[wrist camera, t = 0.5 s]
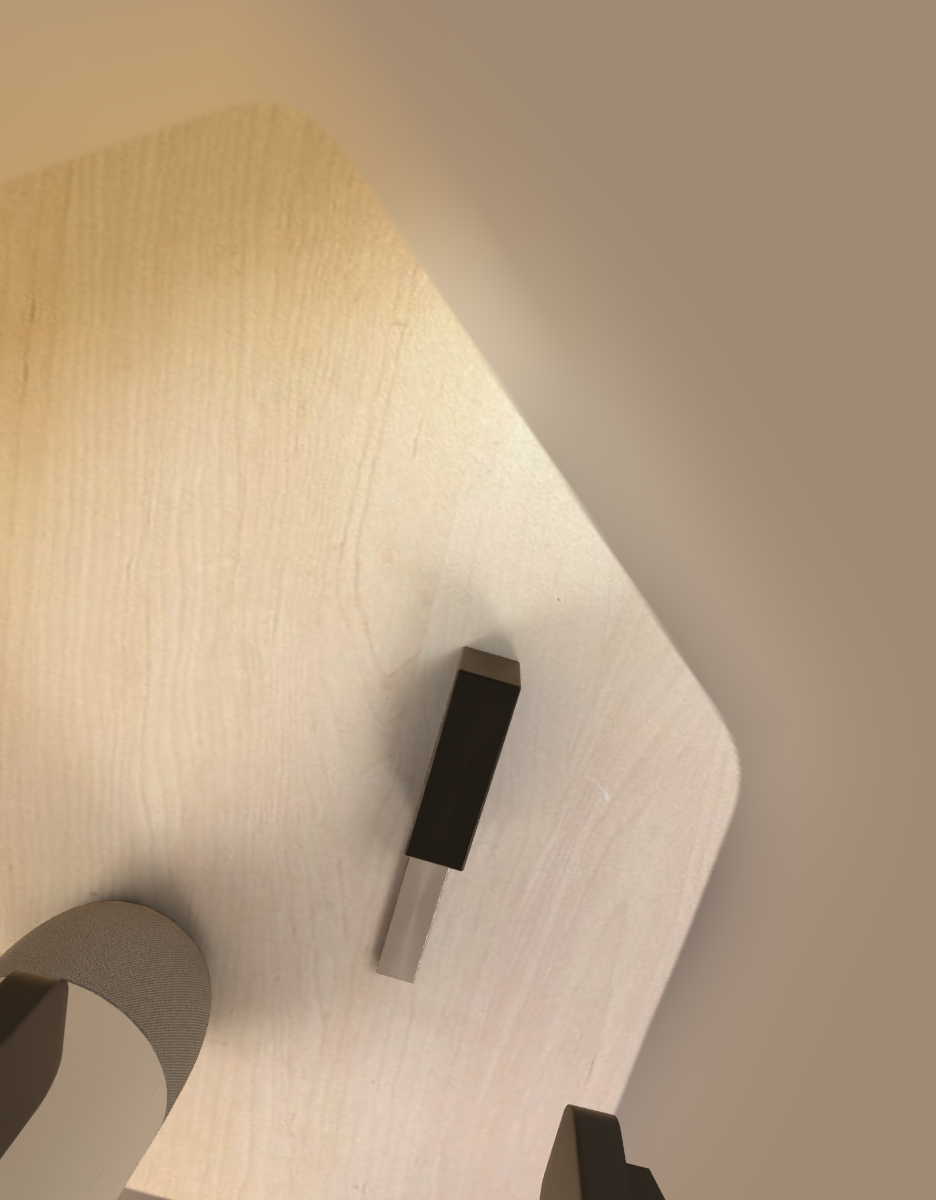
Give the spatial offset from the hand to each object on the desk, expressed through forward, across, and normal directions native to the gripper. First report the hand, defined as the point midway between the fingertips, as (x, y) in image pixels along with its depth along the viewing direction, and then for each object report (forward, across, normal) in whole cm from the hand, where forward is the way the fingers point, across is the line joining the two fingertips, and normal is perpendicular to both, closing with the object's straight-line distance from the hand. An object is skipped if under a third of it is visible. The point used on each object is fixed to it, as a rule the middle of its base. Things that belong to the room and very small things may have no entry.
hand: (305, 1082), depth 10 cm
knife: (+17, -2, +5) cm, 18 cm away
